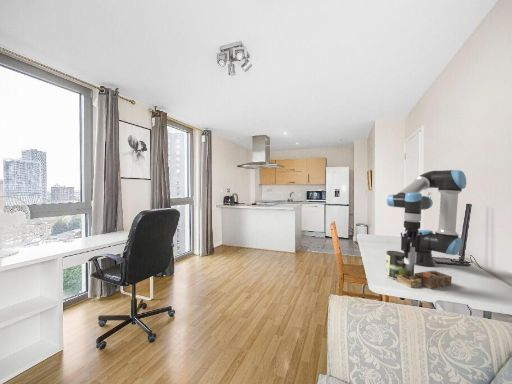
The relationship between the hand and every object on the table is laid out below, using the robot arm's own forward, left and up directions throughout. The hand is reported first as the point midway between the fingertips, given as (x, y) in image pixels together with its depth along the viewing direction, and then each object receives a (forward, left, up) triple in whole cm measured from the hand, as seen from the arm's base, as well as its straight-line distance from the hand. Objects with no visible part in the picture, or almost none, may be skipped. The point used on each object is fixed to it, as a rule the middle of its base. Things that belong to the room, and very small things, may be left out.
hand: (409, 263), depth 124 cm
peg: (0, 0, -7) cm, 7 cm away
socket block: (-13, +4, -11) cm, 17 cm away
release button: (-8, +4, -10) cm, 13 cm away
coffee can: (-1, -9, -12) cm, 15 cm away
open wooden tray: (0, 0, -11) cm, 11 cm away
